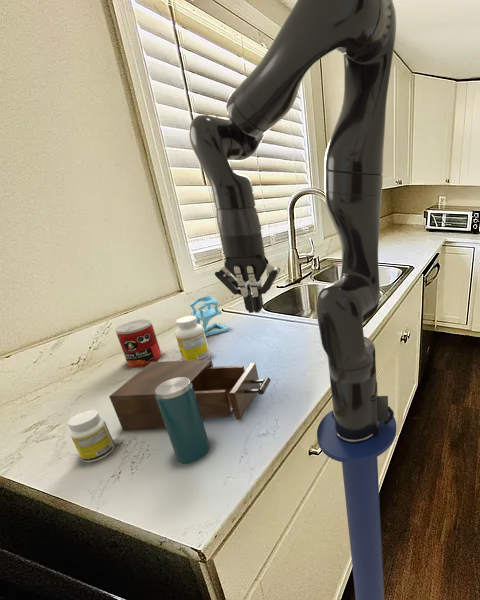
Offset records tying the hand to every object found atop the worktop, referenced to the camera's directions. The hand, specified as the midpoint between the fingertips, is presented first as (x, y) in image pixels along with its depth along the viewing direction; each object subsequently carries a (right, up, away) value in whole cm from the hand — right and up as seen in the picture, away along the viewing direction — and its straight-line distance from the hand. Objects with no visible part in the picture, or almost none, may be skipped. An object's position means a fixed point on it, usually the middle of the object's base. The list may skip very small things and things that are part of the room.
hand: (255, 311), depth 71 cm
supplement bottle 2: (-26, -15, +21) cm, 37 cm away
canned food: (-41, -15, +22) cm, 49 cm away
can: (-7, -26, -9) cm, 29 cm away
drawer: (-6, -21, +2) cm, 22 cm away
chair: (-32, -9, +38) cm, 50 cm away
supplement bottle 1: (-25, -27, -9) cm, 38 cm away
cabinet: (-19, -22, +2) cm, 29 cm away
